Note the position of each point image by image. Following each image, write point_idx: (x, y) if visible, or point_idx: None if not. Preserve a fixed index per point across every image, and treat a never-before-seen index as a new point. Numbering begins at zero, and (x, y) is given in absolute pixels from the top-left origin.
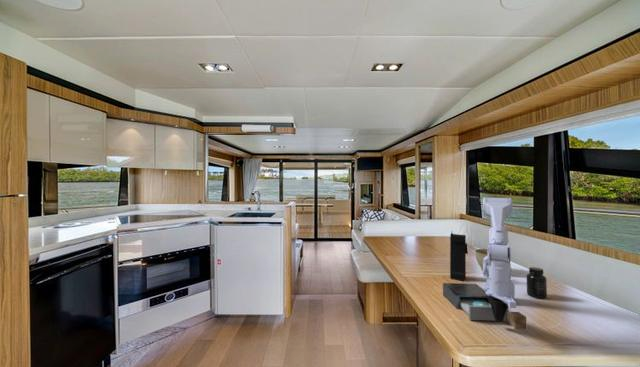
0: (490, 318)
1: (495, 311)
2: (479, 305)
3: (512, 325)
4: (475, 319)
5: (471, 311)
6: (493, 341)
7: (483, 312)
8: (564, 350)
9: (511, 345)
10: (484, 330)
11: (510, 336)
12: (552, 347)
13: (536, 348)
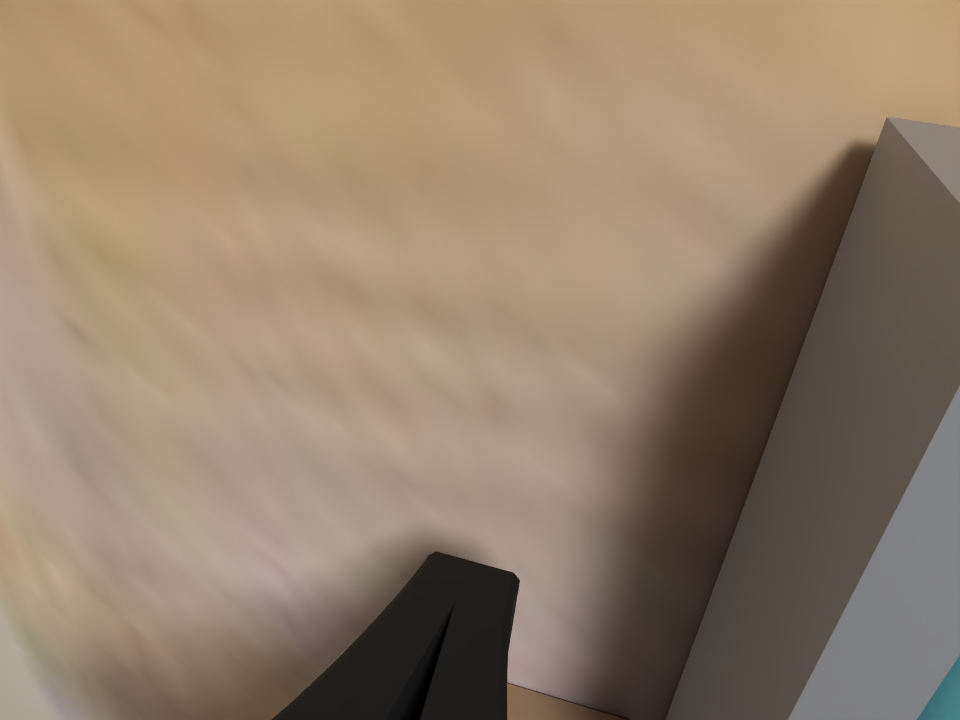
0: (729, 579)
1: (319, 708)
2: None
3: (525, 702)
4: (837, 269)
5: (933, 247)
6: (35, 46)
7: (780, 563)
8: (83, 694)
9: (8, 269)
10: (406, 159)
11: (252, 449)
12: (107, 655)
13: (38, 507)
